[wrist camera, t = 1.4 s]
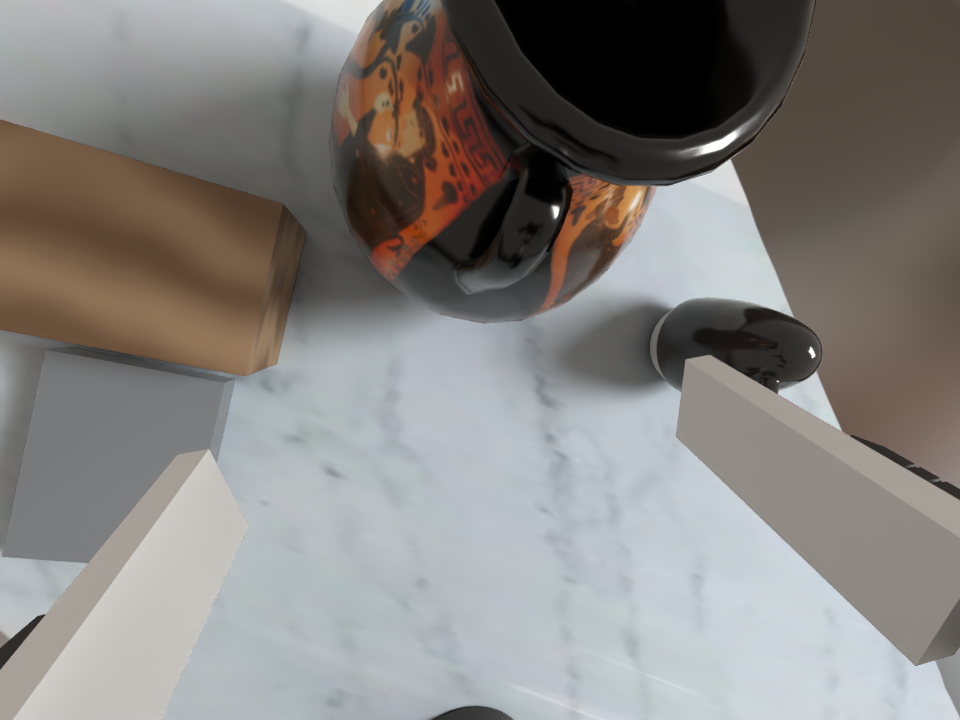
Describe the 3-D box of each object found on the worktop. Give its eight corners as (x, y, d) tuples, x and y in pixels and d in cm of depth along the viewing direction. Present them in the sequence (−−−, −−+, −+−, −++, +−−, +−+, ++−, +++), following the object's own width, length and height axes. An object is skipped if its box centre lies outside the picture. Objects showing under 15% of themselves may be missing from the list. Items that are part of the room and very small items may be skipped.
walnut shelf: (276, 363, 35) (245, 376, 27) (28, 313, 31) (-100, 310, 23) (306, 231, 35) (283, 204, 27) (59, 161, 30) (-60, 101, 22)
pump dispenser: (617, 360, 44) (737, 380, 29) (664, 282, 44) (805, 261, 30) (680, 406, 46) (820, 445, 32) (724, 331, 47) (882, 335, 32)
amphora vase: (386, 48, 35) (404, -856, 8) (591, 152, 41) (1005, -184, 14) (313, 279, 36) (95, 137, 8) (526, 351, 41) (808, 405, 14)
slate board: (198, 550, 36) (183, 570, 33) (35, 535, 33) (1, 556, 30) (237, 377, 35) (224, 382, 32) (75, 347, 32) (45, 349, 29)
